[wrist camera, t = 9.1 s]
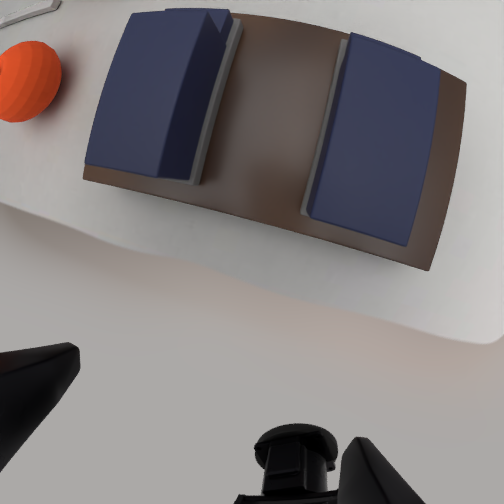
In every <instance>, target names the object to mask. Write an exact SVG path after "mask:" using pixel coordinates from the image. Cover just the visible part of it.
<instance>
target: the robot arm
mask: <svg viewBox="0 0 504 504" xmlns="http://www.w3.org/2000/svg"><path fill="white" fill-rule="evenodd" d="M79 371H80V351H79V348H78V347H77V346H75V345H73V344H72V343H69V342H66V343H60V344H54V345H48V346H42V347H37V348H30V349H23V350H17V351H9V352H3V353H0V472H1V471H2V469H3V468H4V467H5V466H6V465H7V463H8V462H9V461H10V460H11V458H12V457H13V456H14V455H15V453H16V452H17V451H18V450H19V449H20V447H21V446H22V445H23V444H24V442H25V441H26V440H27V439H28V437H29V436H30V435H31V434H32V433H33V432H34V430H35V429H36V428H37V427H38V426H39V425H40V423H41V422H42V421H43V420H44V419H45V417H46V416H47V415H48V414H49V413H50V411H51V410H52V409H53V408H54V407H55V406H56V404H57V403H58V402H59V401H60V399H61V398H62V396H63V395H64V393H65V392H66V390H67V389H68V387H69V386H70V384H71V383H72V382H73V380H74V379H75V377H76V376H77V374H78V373H79ZM317 435H318V436H317ZM254 450H255V451H256V453H257V455H258V456H259V458H260V459H261V461H262V462H263V464H264V465H265V472H264V478H263V484H262V490H261V496H246V495H240V494H239V495H238V497H237V499H236V501H235V502H234V504H425V503H424V501H423V500H422V499H421V498H420V497H419V496H418V495H417V494H416V493H415V491H414V490H412V488H411V487H410V486H409V485H408V484H407V482H406V481H405V480H404V479H403V478H402V477H401V476H400V475H399V473H398V472H397V471H396V470H395V469H394V468H393V466H392V465H391V464H390V463H389V462H388V461H387V460H386V458H385V457H384V456H383V455H382V454H381V453H380V451H379V450H378V449H377V448H376V447H375V446H374V444H373V443H372V442H371V441H370V440H369V439H368V438H364V437H355V438H354V439H353V440H352V442H351V443H350V444H349V446H348V447H347V449H346V450H345V452H344V453H343V456H342V460H341V472H340V480H339V489H337V490H333V491H327V472H329V471H333V470H335V463H334V460H333V458H332V456H331V453H330V451H329V448H328V446H327V443H326V441H325V438H324V436H323V434H322V432H321V431H313V432H309V433H305V434H300V435H296V436H291V437H286V438H281V439H276V440H270V441H264V442H258V443H255V445H254Z"/></svg>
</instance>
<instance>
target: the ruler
mask: <svg viewBox="0 0 504 504" xmlns="http://www.w3.org/2000/svg"><path fill="white" fill-rule="evenodd" d="M60 2H61V1H60V0H46V1H43V2H40V3H37V4H34V5H32V6H29V7H26V8H24V9H21V10H19V11H16V12H14V13H11V14H9V15H7V16H4V17H2V18H0V28H2V27H5V26H7V25H10V24H13V23H15V22H18V21H21V20H24V19H27V18H30V17H33V16H36V15H39V14H43V13H46V12H49V11H53V10H56V9H57V7H58V5H59V4H60Z"/></svg>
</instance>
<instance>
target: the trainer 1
mask: <svg viewBox="0 0 504 504" xmlns="http://www.w3.org/2000/svg"><path fill="white" fill-rule="evenodd" d="M242 31H243V25H242V22H241V20H240V19H235V18H232V15H231V13H230V11H229V10H228V9H210V8H172V9H165V11H153V12H140V13H133V14H131V16H130V19H129V21H128V23H127V25H126V28H125V30H124V33H123V35H122V37H121V40H120V42H119V45H118V47H117V50H116V53H115V55H114V58H113V61H112V63H111V66H110V69H109V72H108V75H107V78H106V81H105V84H104V87H103V90H102V94H101V97H100V100H99V104H98V107H97V111H96V114H95V118H94V122H93V126H92V130H91V134H90V138H89V143H88V147H87V152H86V157H85V164H86V165H91V166H97V167H102V168H107V169H112V170H118V171H123V172H128V173H133V174H137V175H142V176H147V177H152V178H158V179H165V180H169V181H174V182H178V183H183V184H187V185H192V186H198V185H199V183H200V179H201V175H202V170H203V166H204V162H205V158H206V154H207V150H208V146H209V142H210V139H211V135H212V131H213V127H214V123H215V120H216V116H217V113H218V109H219V105H220V102H221V98H222V95H223V91H224V88H225V85H226V81H227V78H228V75H229V71H230V68H231V65H232V62H233V59H234V55H235V52H236V49H237V46H238V43H239V40H240V37H241V34H242Z"/></svg>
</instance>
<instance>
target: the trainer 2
mask: <svg viewBox="0 0 504 504" xmlns="http://www.w3.org/2000/svg"><path fill="white" fill-rule="evenodd" d="M440 74H441V70H440V69H439V68H437V67H435V66H433V65H431V64H429V63H426V62H424V61H422V60H421V57H419V56H417V55H414V54H412V53H410V52H407V51H405V50H402V49H400V48H397V47H395V46H392V45H389V44H386V43H384V42H381V41H378V40H375V39H372V38H369V37H366V36H363V35H359V34H356V33H353V32H351V33H350V36H349V39H348V40H345V39H342V40H341V42H340V46H339V50H338V55H337V59H336V64H335V69H334V73H333V78H332V82H331V87H330V91H329V96H328V100H327V104H326V109H325V113H324V117H323V121H322V126H321V130H320V134H319V138H318V142H317V146H316V150H315V154H314V158H313V162H312V166H311V170H310V174H309V178H308V182H307V186H306V190H305V194H304V197H303V201H302V205H301V209H300V214H301V215H304V216H308V217H310V218H311V219H314V220H317V221H321V222H324V223H328V224H331V225H335V226H338V227H341V228H345V229H348V230H351V231H355V232H358V233H361V234H365V235H368V236H371V237H374V238H378V239H381V240H384V241H387V242H390V243H394V244H397V245H400V246H403V247H406V246H407V244H408V241H409V237H410V234H411V231H412V227H413V223H414V220H415V216H416V213H417V209H418V205H419V201H420V197H421V193H422V189H423V184H424V180H425V175H426V171H427V166H428V161H429V156H430V150H431V145H432V139H433V133H434V126H435V120H436V112H437V104H438V96H439V86H440Z"/></svg>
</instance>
